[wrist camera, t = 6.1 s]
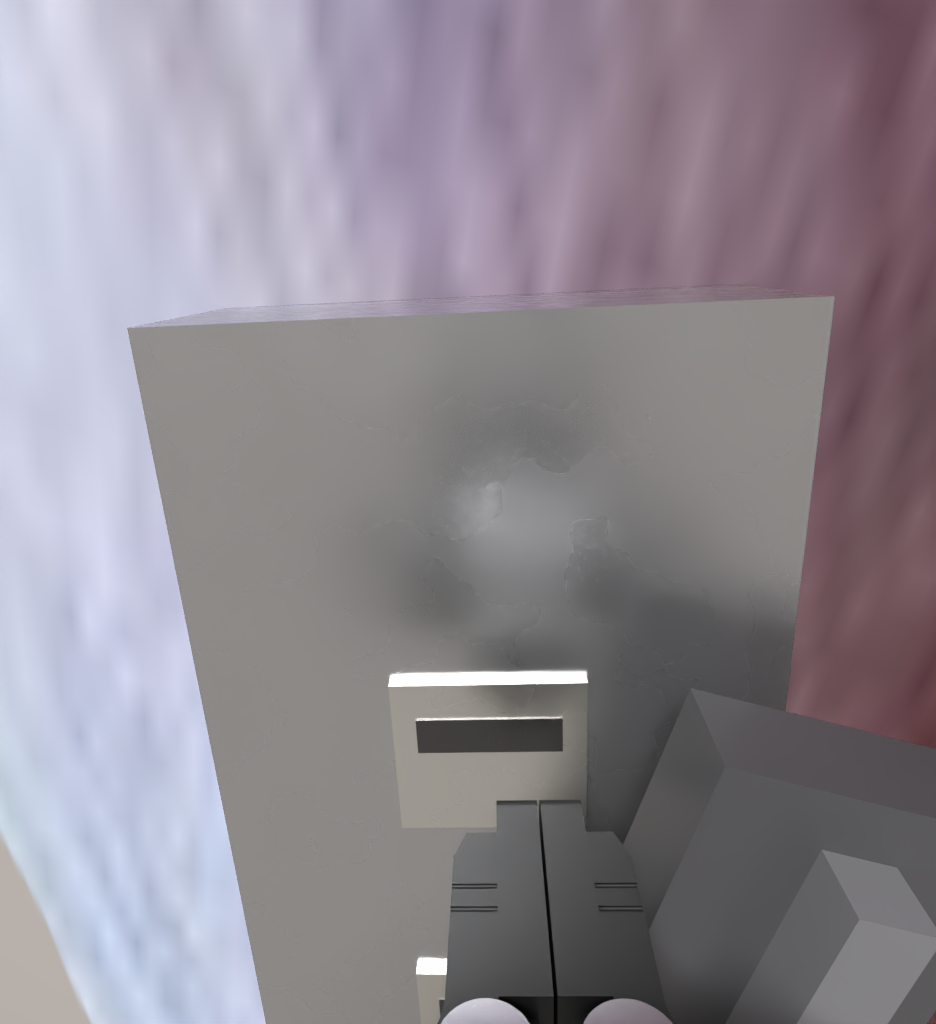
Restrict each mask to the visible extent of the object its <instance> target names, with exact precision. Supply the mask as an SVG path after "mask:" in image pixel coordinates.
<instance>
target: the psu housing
mask: <svg viewBox="0 0 936 1024" xmlns="http://www.w3.org/2000/svg"><path fill="white" fill-rule="evenodd" d="M834 298H835V296H829V295H821V294H813V293H805V292H797V291H789V290H781V289H773V288H765V287H757V286H749V285H741V284H737V285H715V286H693V287H672V288H650V289H629V290H607V291H585V292H564V293H542V294H520V295H499V296H477V297H455V298H434V299H412V300H390V301H369V302H347V303H325V304H304V305H282V306H261V307H239V308H226V309H221V310H216V311H211V312H206V313H201V314H196V315H191V316H186V317H181V318H176V319H171V320H165V321H160V322H155V323H150V324H145V325H140V326H135V327H130V328H127V329H128V334H129V339H130V344H131V349H132V354H133V359H134V364H135V369H136V374H137V379H138V384H139V389H140V394H141V399H142V404H143V409H144V414H145V419H146V424H147V429H148V434H149V439H150V444H151V449H152V454H153V459H154V464H155V469H156V474H157V479H158V484H159V489H160V494H161V499H162V504H163V509H164V514H165V519H166V524H167V529H168V534H169V539H170V544H171V549H172V554H173V559H174V564H175V569H176V574H177V579H178V584H179V589H180V594H181V599H182V604H183V609H184V614H185V619H186V624H187V629H188V634H189V639H190V644H191V649H192V654H193V659H194V664H195V669H196V674H197V679H198V684H199V689H200V694H201V699H202V704H203V709H204V714H205V719H206V724H207V729H208V734H209V739H210V744H211V749H212V754H213V759H214V764H215V769H216V774H217V780H218V785H219V790H220V795H221V800H222V805H223V810H224V815H225V820H226V825H227V830H228V835H229V840H230V845H231V850H232V855H233V860H234V865H235V870H236V875H237V880H238V885H239V890H240V895H241V900H242V905H243V910H244V915H245V920H246V925H247V930H248V935H249V940H250V945H251V950H252V955H253V960H254V965H255V970H256V975H257V980H258V985H259V990H260V995H261V1000H262V1005H263V1010H264V1015H265V1020H266V1024H437V1023H438V1021H439V1018H440V1016H441V1013H442V1010H443V1007H444V1000H445V986H446V970H447V954H448V937H449V921H450V905H451V889H452V872H453V856H454V854H455V853H456V851H457V849H458V847H459V846H460V844H461V842H462V840H463V839H464V837H465V835H466V833H477V832H497V814H496V800H537V807H538V818H539V800H580V801H581V805H582V811H583V817H584V823H585V829H586V832H605V831H613V832H614V834H615V835H616V836H617V838H618V839H619V840H620V842H621V843H622V844H624V842H625V839H626V837H627V835H628V832H629V830H630V828H631V825H632V823H633V821H634V818H635V816H636V814H637V811H638V809H639V807H640V804H641V802H642V800H643V797H644V795H645V793H646V790H647V788H648V786H649V783H650V781H651V779H652V776H653V774H654V772H655V769H656V767H657V765H658V762H659V760H660V758H661V755H662V753H663V751H664V748H665V746H666V744H667V741H668V739H669V737H670V734H671V732H672V730H673V727H674V725H675V723H676V720H677V718H678V716H679V713H680V711H681V709H682V706H683V704H684V702H685V699H686V697H687V695H688V692H689V690H690V688H693V689H697V690H701V691H705V692H709V693H713V694H717V695H721V696H725V697H729V698H733V699H737V700H741V701H745V702H749V703H753V704H757V705H761V706H765V707H769V708H773V709H777V710H781V711H785V708H786V700H787V692H788V683H789V675H790V667H791V658H792V650H793V641H794V633H795V625H796V616H797V608H798V600H799V591H800V583H801V574H802V566H803V558H804V549H805V541H806V533H807V524H808V516H809V507H810V499H811V491H812V482H813V474H814V466H815V457H816V449H817V440H818V432H819V424H820V415H821V407H822V399H823V390H824V382H825V373H826V365H827V357H828V348H829V340H830V332H831V323H832V315H833V306H834Z"/></svg>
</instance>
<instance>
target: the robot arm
mask: <svg viewBox="0 0 936 1024" xmlns="http://www.w3.org/2000/svg"><path fill="white" fill-rule="evenodd" d="M496 814H497V832H477V833H466V835H465V837H464V839H463V840H462V842H461V844H460V846H459V847H458V849H457V851H456V853H455V854H454V856H453V872H452V889H451V905H450V921H449V937H448V954H447V970H446V986H445V1000H444V1007H443V1010H442V1013H441V1016H440V1018H439V1021H438V1023H437V1024H676V1023H675V1021H674V1020H673V1018H672V1016H671V1014H670V1012H669V1010H668V1008H667V1005H666V1002H665V999H664V995H663V991H662V987H661V983H660V978H659V974H658V970H657V966H656V961H655V957H654V953H653V949H652V944H651V940H650V936H649V932H648V927H647V923H646V919H645V914H644V912H643V908H642V902H641V897H640V893H639V889H638V888H637V880H636V876H635V872H634V868H633V863H632V859H631V855H630V854H629V852H628V851H627V850H626V848H625V847H624V846H623V844H622V843H621V842H620V840H619V839H618V838H617V836H616V835H615V834H614V832H613V831H605V832H586V829H585V823H584V817H583V811H582V805H581V801H580V800H539V818H538V807H537V800H496Z"/></svg>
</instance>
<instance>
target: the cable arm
mask: <svg viewBox="0 0 936 1024" xmlns="http://www.w3.org/2000/svg"><path fill="white" fill-rule="evenodd" d="M623 846H624V847H625V848H626V850H627V851H628V852H629V854H630V855H631V859H632V863H633V868H634V872H635V876H636V880H637V888H638V889H639V893H640V897H641V902H642V908H643V912H644V914H645V919H646V923H647V927H648V932H649V936H650V940H651V944H652V949H653V953H654V957H655V961H656V966H657V970H658V974H659V978H660V983H661V987H662V991H663V995H664V999H665V1002H666V1005H667V1008H668V1010H669V1012H670V1014H671V1016H672V1018H673V1020H674V1021H675V1023H676V1024H927V1023H928V1021H929V1020H930V1018H931V1017H932V1016H933V1014H934V1013H935V1011H936V749H934V748H930V747H926V746H922V745H918V744H914V743H910V742H906V741H902V740H898V739H894V738H890V737H886V736H882V735H877V734H873V733H869V732H865V731H861V730H857V729H853V728H849V727H845V726H841V725H837V724H833V723H829V722H825V721H821V720H817V719H813V718H809V717H805V716H801V715H797V714H793V713H789V712H785V711H781V710H777V709H773V708H769V707H765V706H761V705H757V704H753V703H749V702H745V701H741V700H737V699H733V698H729V697H725V696H721V695H717V694H713V693H709V692H705V691H701V690H697V689H693V688H690V690H689V692H688V695H687V697H686V699H685V702H684V704H683V706H682V709H681V711H680V713H679V716H678V718H677V720H676V723H675V725H674V727H673V730H672V732H671V734H670V737H669V739H668V741H667V744H666V746H665V748H664V751H663V753H662V755H661V758H660V760H659V762H658V765H657V767H656V769H655V772H654V774H653V776H652V779H651V781H650V783H649V786H648V788H647V790H646V793H645V795H644V797H643V800H642V802H641V804H640V807H639V809H638V811H637V814H636V816H635V818H634V821H633V823H632V825H631V828H630V830H629V832H628V835H627V837H626V839H625V842H624V844H623Z"/></svg>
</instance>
